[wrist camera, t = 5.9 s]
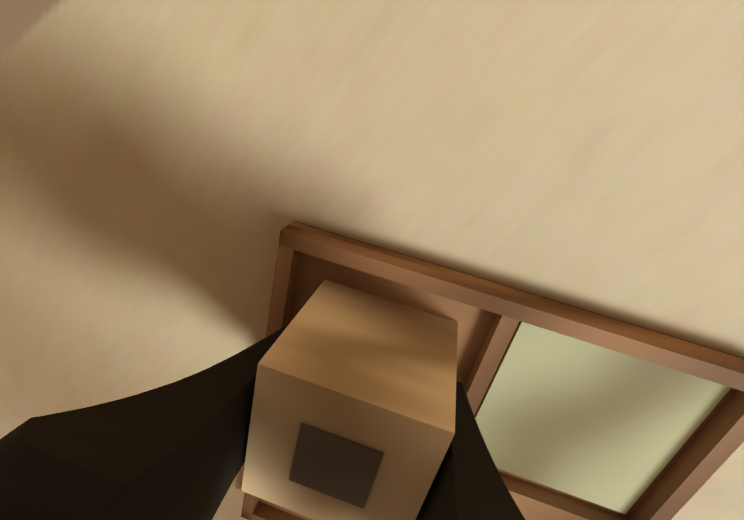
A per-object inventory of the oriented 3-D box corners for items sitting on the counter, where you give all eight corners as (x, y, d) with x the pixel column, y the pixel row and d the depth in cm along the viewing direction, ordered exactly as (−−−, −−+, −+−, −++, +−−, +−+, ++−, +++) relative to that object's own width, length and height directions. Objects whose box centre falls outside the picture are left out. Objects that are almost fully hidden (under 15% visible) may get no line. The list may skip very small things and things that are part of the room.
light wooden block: (457, 322, 12) (454, 436, 8) (418, 422, 14) (399, 556, 10) (325, 279, 12) (256, 365, 8) (304, 381, 14) (239, 493, 10)
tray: (764, 365, 11) (792, 389, 10) (550, 614, 17) (555, 643, 16) (294, 221, 12) (280, 229, 11) (252, 496, 18) (241, 516, 17)
